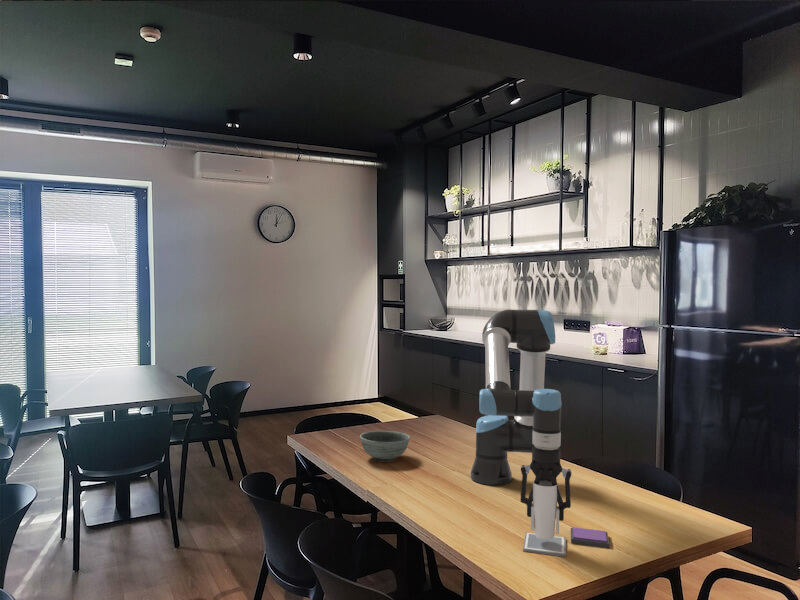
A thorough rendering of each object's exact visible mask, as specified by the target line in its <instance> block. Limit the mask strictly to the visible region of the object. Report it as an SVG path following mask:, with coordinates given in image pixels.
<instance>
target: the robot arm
mask: <svg viewBox="0 0 800 600" xmlns="http://www.w3.org/2000/svg"><path fill="white" fill-rule="evenodd" d="M481 339H482V340H481V341H482V343H483V346H485V347H484V348H485V349H484V350H485V357H484V358H485V359H484V360H485V364H484V365H485V388H482V389H479V397H478V398H479V400H478V401H479V403H478V404H479V409H478V410H479V413H480V414H481V415H484V416H481V417H479V418H477V421H476V422H475V423H476V426H475V427H476V428H475V435H476V436H475V457H474V461H473V464H472V467H471V470H470V479H471V480H472V481H473V482H476V483H478V484H482V485H488V486H502V485H507V484H509V483H511V482H512V480H513V479H512V478H513V477H512V476H513V475H512V469H511V466H510V464H509V460H508V453H525V454H528V453H529V454H531V463H530V464H526V465H525V464H522V465H521V467H520V472H521V475H522V476H521V478H522V479H521V487H520V489H521V490H520V491H521V492H520V500H519V501H520V503H522V504H524V505H526V516H527V518H530V531H534V530H535V527H534V507H533V485H532V487H531V488H530V489H531V490H530V491H529V495H528V497H527V496H526V493H527V486H528V485H527V484H528V474H530V471H532V473H533V475H534V476H535V477H534V480H535V481H534V480H533V481H534V483H535V484H537V485H539V482H540V481H545V480H546V481H550V482H551V483H552V486H555V485H557V484H558V480H557V477H558V476H559V475H560V474H562V477H563V478H564V488H565V489H564V492H565V501H564V500H563V498H562V494H561V490H560V487H559V484H558V486H557V509H556V520H555V533H556V534H557V535H558V534H560V521H561V522H563V521H564V519H565V518H564V516H565V515H564V514H565V509H570V508H571V506H572V505H571V503H572V502H571V485H570V484H571V483H570V480H571V477H572V469H570V468H568V469H566V468H564V467H563V466H562V465H561V448H560V447H561V444H562V443H561V441H562V440H561V439H562V433H561V432H562V431H561V421H562V406H563V405H562V404H563V402H562V394H561V392H560V390H557V389H553V388H552V389H551V388H545V369H546V354H547V353H548V352H549V351H550V350H551V345H554V344H555V343H556V329H555V323H554V317H553V314H552V312H551V311H549V310H543V309H542V310H540V309H504V310H501V311H499V312H497V313H495V314H494V315H492V316H491V317H490V319H489V320H488V321H487V322H486V323H485V325H484V328H483V330H482V338H481ZM510 344H516V348H517V350H518V351H520V365H519V389H511V374H510V357H509V356H510V355H509V346H510ZM509 417H514V418H513V419H509Z"/></svg>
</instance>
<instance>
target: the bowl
mask: <svg viewBox="0 0 800 600" xmlns="http://www.w3.org/2000/svg"><path fill="white" fill-rule="evenodd" d="M410 436H411V435H409V434H407V433H405V432H401V431H394V430H392V431H391V430H371V431H365V432H363V433H360V435H359V438H360V441H361V446H362V448H363V451H364V452H365V453H366V454H367V455H368V456H370V457H371V458H372V459H373V461H376V462H381V463H382V462H383V463H389V462H394V461H396V459H397V458H399V457H400V456H402V455H403V454H404V453H405V452H406V450H407V448H408V445H409V441H410V439H411V437H410Z"/></svg>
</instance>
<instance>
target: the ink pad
mask: <svg viewBox="0 0 800 600" xmlns="http://www.w3.org/2000/svg"><path fill="white" fill-rule="evenodd" d="M570 543H571V544H575V545H584V546H591V547H596V548H597V547H600V548H604V549H605V548H606V549H609V548H610V539H609V534H608V531H606V530H598V529H589V528H582V527H570Z"/></svg>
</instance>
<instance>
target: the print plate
mask: <svg viewBox="0 0 800 600" xmlns="http://www.w3.org/2000/svg"><path fill="white" fill-rule="evenodd" d="M523 540H524V541H523V546H522V547H523V548H522V551H523V552H529V553H533V554H534V553H535V554H542V555H549V556H557V557H562V558H564V557H566V554H567V552H566V550H567V548H566V544H567V543H566V540H567V539H566V537H565V536H564V537H563V536H558V535H557V536H556V535H554V538H553V539H550V540H542V539H539V538H537V537H536V536H535V533H534V532H525V534H524V539H523Z"/></svg>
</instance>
